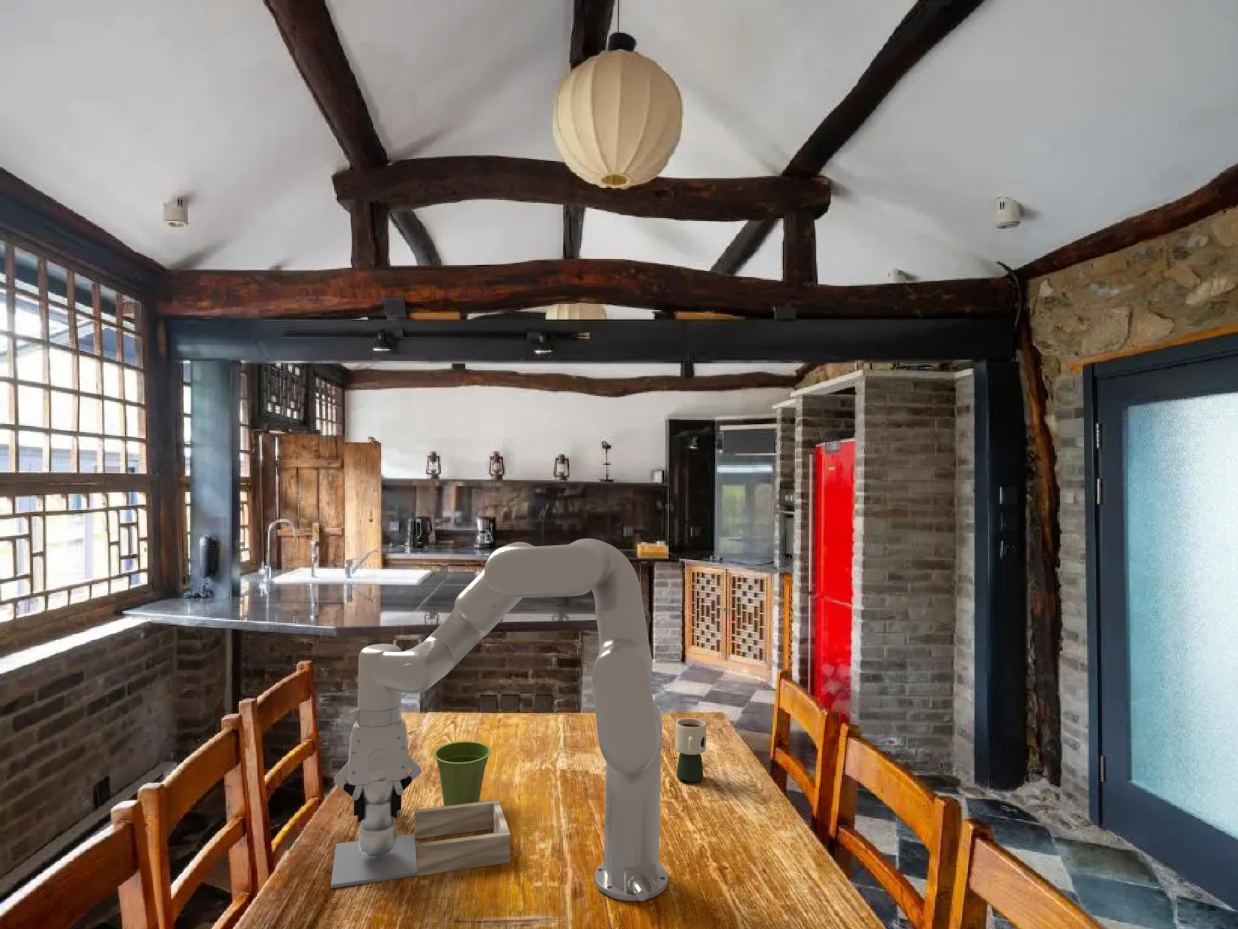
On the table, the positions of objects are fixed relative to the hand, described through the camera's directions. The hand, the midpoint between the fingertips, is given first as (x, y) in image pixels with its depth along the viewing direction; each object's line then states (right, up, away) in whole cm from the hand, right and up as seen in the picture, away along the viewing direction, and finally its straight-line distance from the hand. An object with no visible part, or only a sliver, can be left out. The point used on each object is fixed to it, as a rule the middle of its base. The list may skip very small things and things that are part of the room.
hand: (377, 815), depth 129 cm
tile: (0, -8, 0) cm, 8 cm away
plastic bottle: (0, -7, 0) cm, 7 cm away
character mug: (+60, -10, +38) cm, 71 cm away
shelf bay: (+14, -8, +5) cm, 17 cm away
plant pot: (+10, -9, +22) cm, 26 cm away
